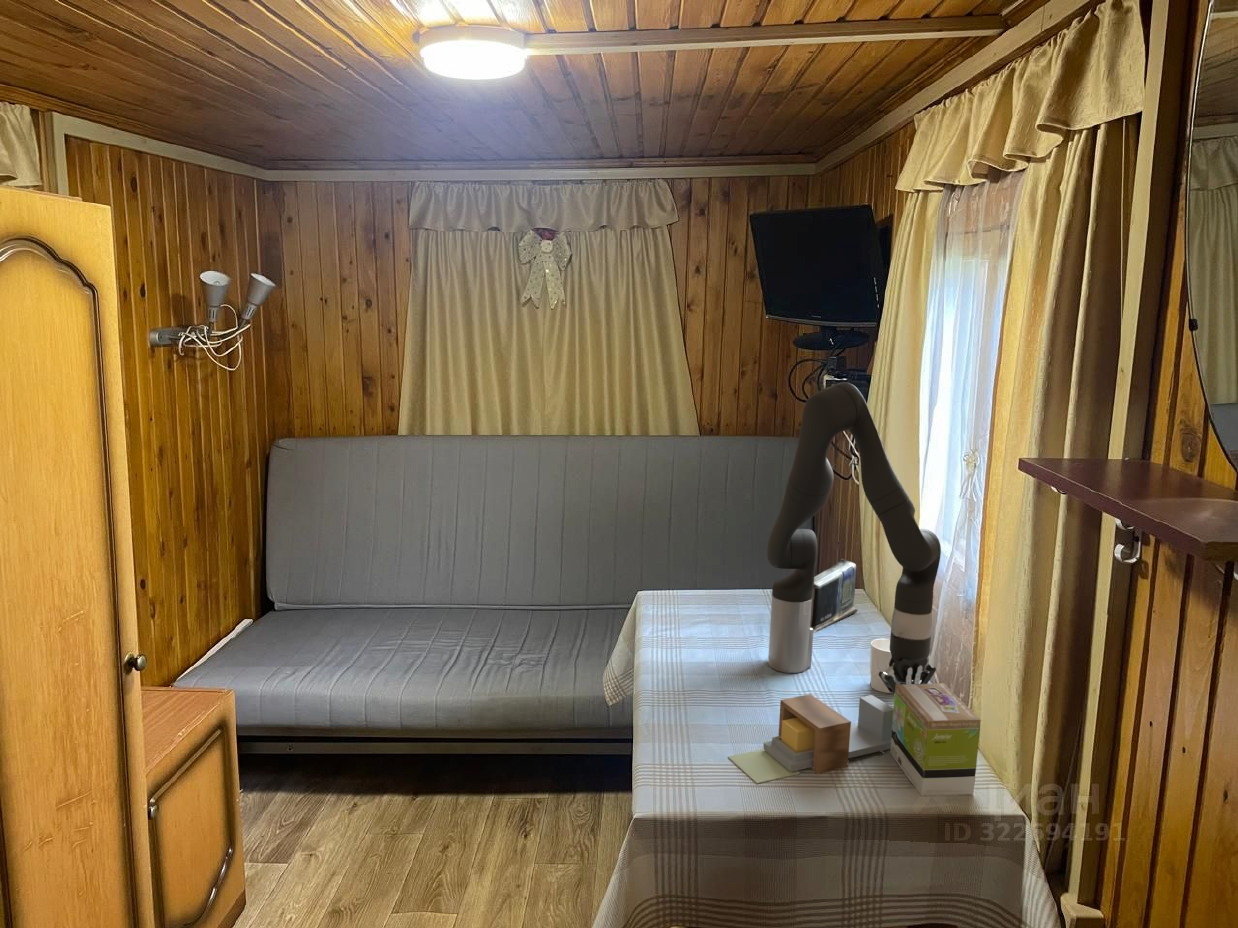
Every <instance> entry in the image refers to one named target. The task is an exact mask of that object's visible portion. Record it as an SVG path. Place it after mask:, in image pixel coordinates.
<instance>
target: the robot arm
mask: <svg viewBox="0 0 1238 928" xmlns="http://www.w3.org/2000/svg"><path fill="white" fill-rule="evenodd" d="M846 431H849V433H850V434H851V436H852V437H853V439H854V441H855V444H856V445H857V449H858V453H859V461H860V462H859V463H860V476H861V484H862V485H861V486H862V488H863V492H864V495H865V497H866V499H867V501H868V502H869V504H870V506H871V508H872V509H873V512H874V514H875V515H876V516H877V518H878V520H879V521H880V522H881V524H882V528H883V531H884V535H885V537H886V540H887V543H888V546H889V548H890V552H891V553H892V554H893V556H894V559H895V560H896V561H897V562H898V564H899V565H900V566H901V567H902V569H901V570H902V571H901V575H900V577H899V579H898V581H897V583H896V585H895V586H896V587H895V592H894V593H895V594H894V608H893V612H892V616H891V627H890V637H889V639H890V652H891V656H892V657H891V660H890V662H889V668H888V669H887V670H886V671H885V672H883V671H880V672H879V676H880V678H881V679H882V681H883V683H884V684H885V686H886V687H887V689H888V690H889V692H891V693H890V694H893V695H894V694H895V685H896V684H897V685H903V684H929V682H930V681H931V679H932V677H933V676H934V674H935V672H936V671H937V668H936V667H935V666H933V665H931V664H930V663H928V657H930V652H931V643H932V642H931V641H932V628H933V605H934V604H933V603H934V589H935V583H936V579H937V575H938V570H939V567H940V566H939V565H940V562H941V561H940V560H941V553H942V548H941V547H942V546H941V542H940V540H939V539H940V538H938V536H937V535H936V534H935V533H934V532H933V531H931V530H929V529H926V528H920V527H919V525H918V523H917V520H916V519H915V512H916V509H915V508H916V507H915V505H914V503H913V501H912V500H911V499H910V496H909V495H908V493H907V491H906V490H905V487H904V486H903V484H902V482H901V481H900V479H899V478H898V475H897V473H896V472H895V470H894V469H893V466H892V463H891V461H890V459H889V457H888V454H887V452H886V450H885V447H884V445H883V442H882V439H881V437H880V433H879V432H878V429H877V427H876V423H875V420H874V418H873V417H872V414H871V411H870V408H869V407H868V403H867V401H866V399H865V398H864V396H863V394H862V393H861V391H860V390H859V389H858V388H857V387H856V385H854V384H852V383H850V382H848V381H847V382H845V381H843V382H839V383H838V382H837V383H836V384H832V385H831V386H829V387H826V388H824V389H821V390H819V391H817V392H815V393H813V394H811V396H809V397H808V399H806V401H805V403H804V406H803V410H802V415H801V422H800V430H799V436H798V443H797V448H796V450H795V455H794V459H793V462H792V463H793V464H792V467H791V469H790V472H789V475H788V480H787V482H786V485H785V486H786V487H785V490H784V494H783V495H784V496H783V499H782V502H781V507H780V509H779V513H778V515H777V517H776V519H775V523H774V525H773V527H772V529H771V531H770V535H769V538H768V542H767V549H766V553H767V554H766V556H767V559H768V563H769V564H770V566H771V567H773V568H775V569H781V570H783V569H784V570H794V571H793V572H791V573H790V574H789V575H786V576H784V577H782V578H780V579H777V580H776V581H774V582H773V584H772V587H771V589H772V590H771V604H770V607H771V608H770V622H769V624H770V625H769V643H768V657H767V659H768V660H767V664H768V666H769V667H770V668H772V669H773V670H775V671H777V672H780V673H782V672H783V673H787V674H794V673H802V672H805V671H806V670H807V669H809V668H812V657H813V641H814V633H813V628H811V627H810V621H811V605H812V592H813V587H814V577H815V576H816V569H817V568H816V567H817V559H818V538H817V535H816V533H815V532H814V530H812V529H809V528H800V527H802V525H803V524H805V523H806V522H807V521H809V520H810V519H811V518H813V517H815V516H816V515H817V514H818V513H819V512H820V511H821V510H822V509H823V508H824V507H825V505H826V504H827V502H828V499H829V498H830V497H829V496H830V494H831V491H832V487H833V483H834V480H835V476H834V471H833V467H832V466H831V463H830V461H829V460H828V457H827V456H828V451H829V449H830V446H831V443H832V441H833V440H834V438H835V437H836V436H837V435H839V434H842V433H843V432H846Z"/></svg>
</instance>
